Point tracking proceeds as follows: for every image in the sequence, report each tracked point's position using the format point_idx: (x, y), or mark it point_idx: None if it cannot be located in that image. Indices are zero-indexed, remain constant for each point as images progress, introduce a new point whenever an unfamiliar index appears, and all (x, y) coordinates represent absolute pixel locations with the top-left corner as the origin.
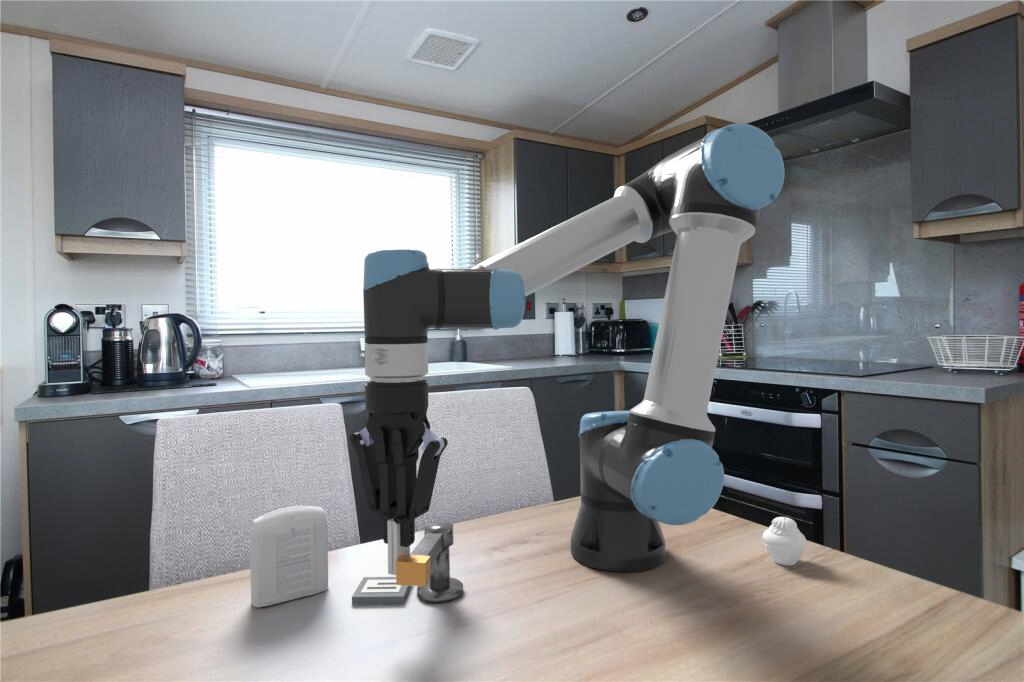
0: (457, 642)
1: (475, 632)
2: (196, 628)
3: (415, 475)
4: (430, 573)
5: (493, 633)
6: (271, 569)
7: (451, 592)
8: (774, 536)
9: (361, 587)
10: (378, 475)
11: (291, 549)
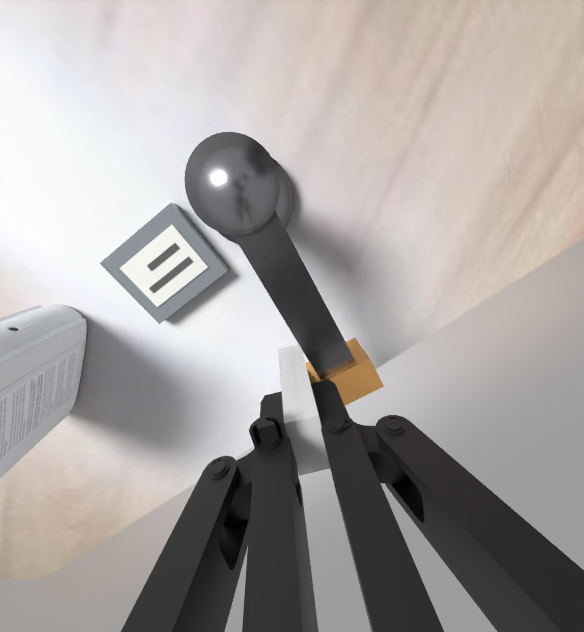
0: (375, 299)
1: (382, 265)
2: (71, 467)
3: (419, 578)
4: (357, 342)
5: (407, 251)
6: (35, 433)
7: (282, 203)
8: None
9: (138, 293)
10: (194, 624)
11: (13, 425)
